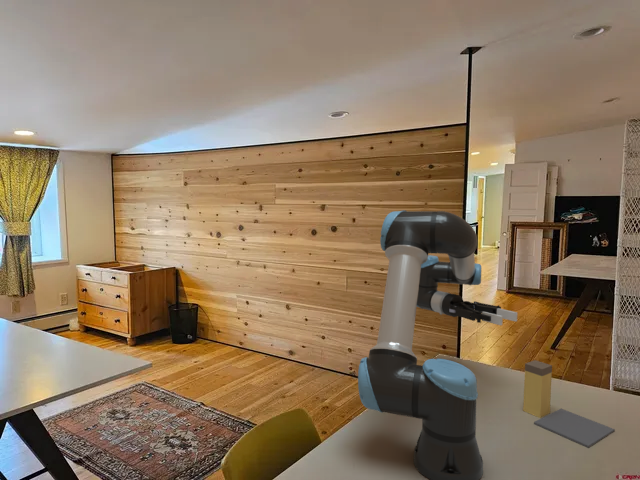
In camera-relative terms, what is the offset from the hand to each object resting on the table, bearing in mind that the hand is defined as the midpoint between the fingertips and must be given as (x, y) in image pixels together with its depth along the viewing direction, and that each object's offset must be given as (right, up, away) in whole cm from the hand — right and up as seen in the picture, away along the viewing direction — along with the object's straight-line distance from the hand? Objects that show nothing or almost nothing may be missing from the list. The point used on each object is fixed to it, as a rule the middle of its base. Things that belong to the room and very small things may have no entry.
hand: (509, 318), depth 129 cm
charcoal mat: (+11, -26, -14) cm, 32 cm away
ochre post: (+5, -26, -6) cm, 27 cm away
